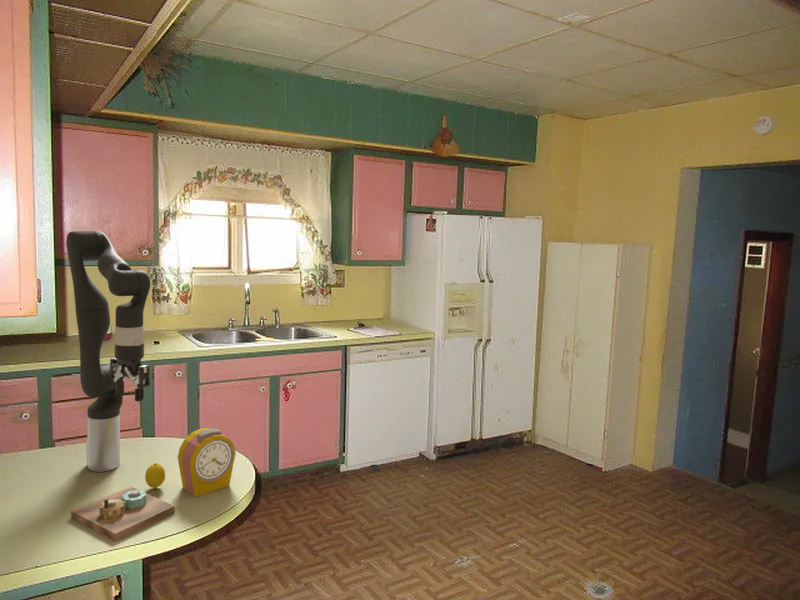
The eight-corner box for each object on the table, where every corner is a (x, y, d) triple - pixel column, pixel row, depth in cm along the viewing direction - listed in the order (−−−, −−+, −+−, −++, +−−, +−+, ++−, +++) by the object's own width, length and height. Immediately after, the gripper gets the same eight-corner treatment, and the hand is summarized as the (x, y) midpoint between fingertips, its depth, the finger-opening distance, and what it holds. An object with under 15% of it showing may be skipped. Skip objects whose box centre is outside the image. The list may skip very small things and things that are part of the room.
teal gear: (117, 504, 163) (117, 496, 163) (136, 496, 168) (136, 488, 168) (131, 511, 160) (131, 502, 160) (150, 502, 166) (150, 494, 165)
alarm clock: (190, 499, 173) (191, 439, 170) (177, 489, 178) (178, 431, 176) (235, 484, 184) (237, 428, 181) (221, 475, 189) (223, 420, 187)
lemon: (157, 493, 175) (158, 468, 174) (141, 491, 176) (141, 465, 175) (168, 485, 180) (169, 460, 179) (152, 483, 181) (152, 458, 180)
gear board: (71, 517, 159) (70, 495, 158) (131, 492, 174) (131, 472, 173) (115, 541, 149) (115, 517, 148) (174, 512, 165) (174, 490, 164)
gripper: (101, 339, 165) (101, 395, 167) (133, 348, 158) (133, 406, 160) (125, 335, 172) (125, 389, 174) (157, 343, 165) (157, 399, 167)
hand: (129, 397), depth 167 cm, fingers open, 8 cm apart
